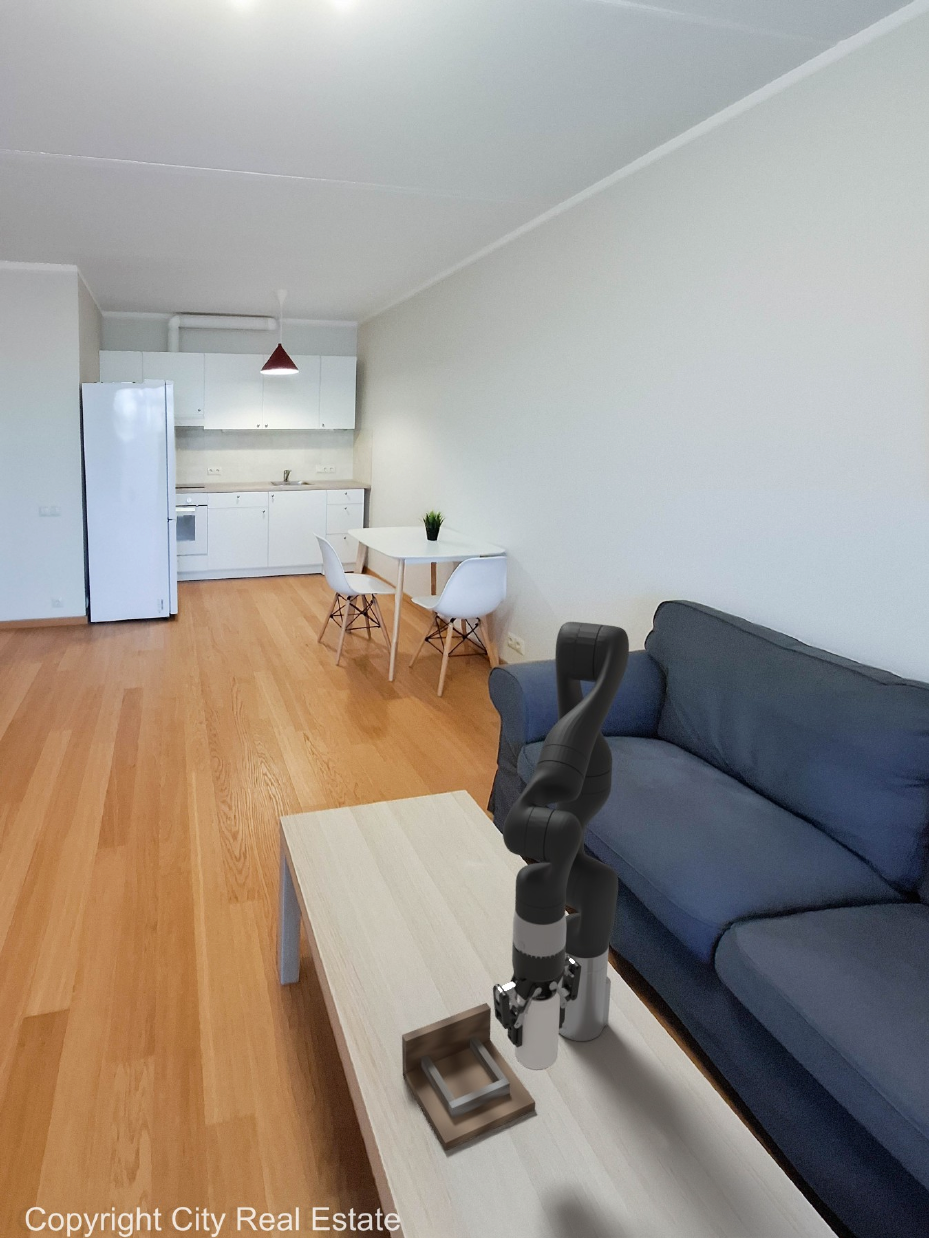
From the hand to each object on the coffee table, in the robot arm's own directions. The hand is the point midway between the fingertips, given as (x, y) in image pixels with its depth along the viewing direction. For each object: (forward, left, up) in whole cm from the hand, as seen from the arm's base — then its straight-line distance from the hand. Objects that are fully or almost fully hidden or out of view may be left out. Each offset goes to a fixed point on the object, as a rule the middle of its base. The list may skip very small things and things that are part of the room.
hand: (536, 1033), depth 118 cm
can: (0, 0, -4) cm, 4 cm away
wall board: (+5, -12, -19) cm, 24 cm away
